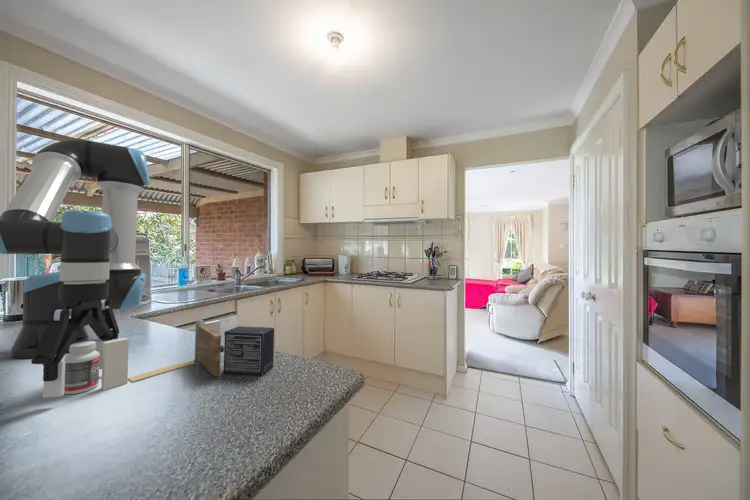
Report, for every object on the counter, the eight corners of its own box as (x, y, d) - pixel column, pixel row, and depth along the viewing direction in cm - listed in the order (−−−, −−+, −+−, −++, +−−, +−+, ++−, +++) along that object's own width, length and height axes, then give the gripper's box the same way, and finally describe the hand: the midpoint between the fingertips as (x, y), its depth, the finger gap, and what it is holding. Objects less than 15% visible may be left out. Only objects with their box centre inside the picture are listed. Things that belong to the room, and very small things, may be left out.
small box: (274, 366, 74) (275, 326, 75) (262, 376, 68) (263, 333, 68) (237, 363, 76) (238, 324, 76) (222, 373, 69) (223, 331, 69)
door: (214, 376, 66) (215, 336, 66) (197, 360, 75) (198, 325, 76) (225, 373, 68) (226, 334, 68) (207, 358, 77) (208, 324, 77)
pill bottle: (98, 389, 60) (99, 344, 60) (60, 398, 56) (62, 349, 56) (99, 381, 64) (100, 338, 64) (64, 388, 60) (65, 343, 60)
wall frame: (100, 387, 61) (101, 337, 61) (214, 353, 82) (216, 316, 83) (105, 391, 59) (106, 339, 60) (220, 355, 81) (221, 317, 81)
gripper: (104, 277, 72) (101, 360, 71) (2, 288, 47) (-4, 414, 47) (138, 277, 74) (135, 358, 73) (57, 288, 49) (52, 409, 49)
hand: (81, 380), depth 60 cm, fingers open, 13 cm apart
